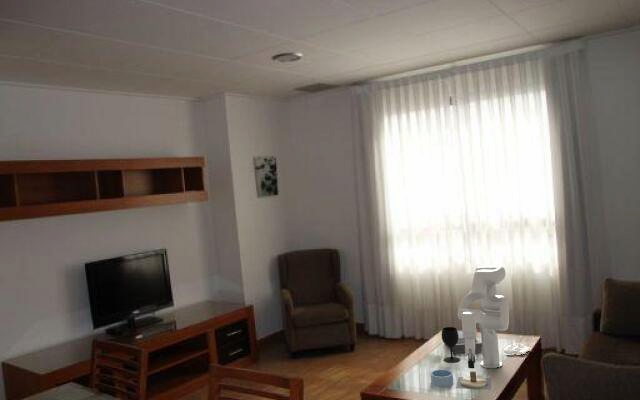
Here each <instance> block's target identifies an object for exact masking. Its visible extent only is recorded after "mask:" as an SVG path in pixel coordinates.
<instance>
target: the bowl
mask: <svg viewBox="0 0 640 400" xmlns="http://www.w3.org/2000/svg"><path fill="white" fill-rule="evenodd" d="M430 382H431V384H430V385H431V386H434V387H438V388H447V387H451V386H452V385H454V374H453V372H452V370H449V369H441V368H440V369H439V368H438V369H434V370H431V371H430Z"/></svg>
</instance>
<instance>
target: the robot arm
mask: <svg viewBox="0 0 640 400" xmlns="http://www.w3.org/2000/svg"><path fill="white" fill-rule="evenodd" d="M505 277H506V270H505V267H504V266H501V265H480V266H477V267H476V268H475V272H474V274H473V278H472V282H471V287H470V291H469V292H468V293H467V294H466V295H465V296H464V297H463V298H462V299H461V300H460V302H459V306H458V309H457V318H458V319H459V321H461V327H462V330H461V331H462V332H463V338H465V353H464V354H465V357H467V368H468V369H475V363H476V353H475V338H477V339H478V335H477V334H478V332H477V324H478V326H479V330H480V339H481V341H480V342H481V343H482V352H481V353H482V361H480V365H481V367H483V368H486V369H498V368H497V367H499V368H501V367H503V362H502V361H500V351H499V336H498V334H497V332H496V331H507V330H508V329H509V324H510V302H509V301H510V300H509V298H508V297H507V296H505V295H498V294H497V285H499V284H501V282H502V281H503V280H504V279H505ZM479 300H481V308H482V310H481V309H478V308H468V306H469V305H470V304H472V303H474V302H477V301H479ZM483 310H484V311H486V312H484V311H483ZM487 311H488V312H487ZM491 312H493V313H491ZM494 312H499V313H494ZM500 366H501V367H500Z"/></svg>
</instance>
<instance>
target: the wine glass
mask: <svg viewBox="0 0 640 400" xmlns="http://www.w3.org/2000/svg"><path fill="white" fill-rule="evenodd" d="M458 333H459V332H458V328H456V327H455V326H454V327H453V326H447V327H443V328H442V329H441V340H442V342H443V344H444V345H445V346H446V347H448V349H449V348H450V349H449V350H450V356H448V357H444V358H443V361H444V362H445V363H447V364H455V363H459V362H460V361H461V358H460V357H456V356H453V353H452V347H454V346H455V345H456V344H457V342H458V338H459V337H458Z"/></svg>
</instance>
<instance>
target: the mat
mask: <svg viewBox="0 0 640 400" xmlns="http://www.w3.org/2000/svg"><path fill="white" fill-rule="evenodd" d="M465 377H466V376H465ZM465 377H461V376H460V377H459V376H458V377H457V381H456V389H462V390H463V389H465V390H466V389H467V390H489V391H490V390H491V388H492V387H491V385H492V379H491V377H489V378H487V377H483V378H484V379H486V381H487V385H486V386H484V387H481V388H468V387H465V386H463V385H461V379H462V378H465Z"/></svg>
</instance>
